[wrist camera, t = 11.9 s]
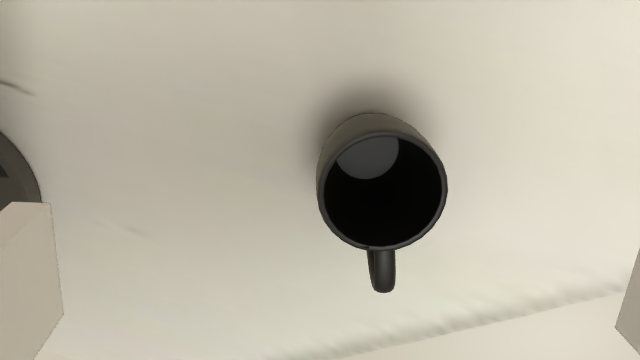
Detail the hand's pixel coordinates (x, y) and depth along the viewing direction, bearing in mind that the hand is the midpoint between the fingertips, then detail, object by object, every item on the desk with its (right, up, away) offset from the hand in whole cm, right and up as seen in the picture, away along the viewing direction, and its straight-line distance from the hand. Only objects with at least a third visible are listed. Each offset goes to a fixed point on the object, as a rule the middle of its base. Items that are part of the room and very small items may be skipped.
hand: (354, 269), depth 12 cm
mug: (+3, +3, +31) cm, 31 cm away
